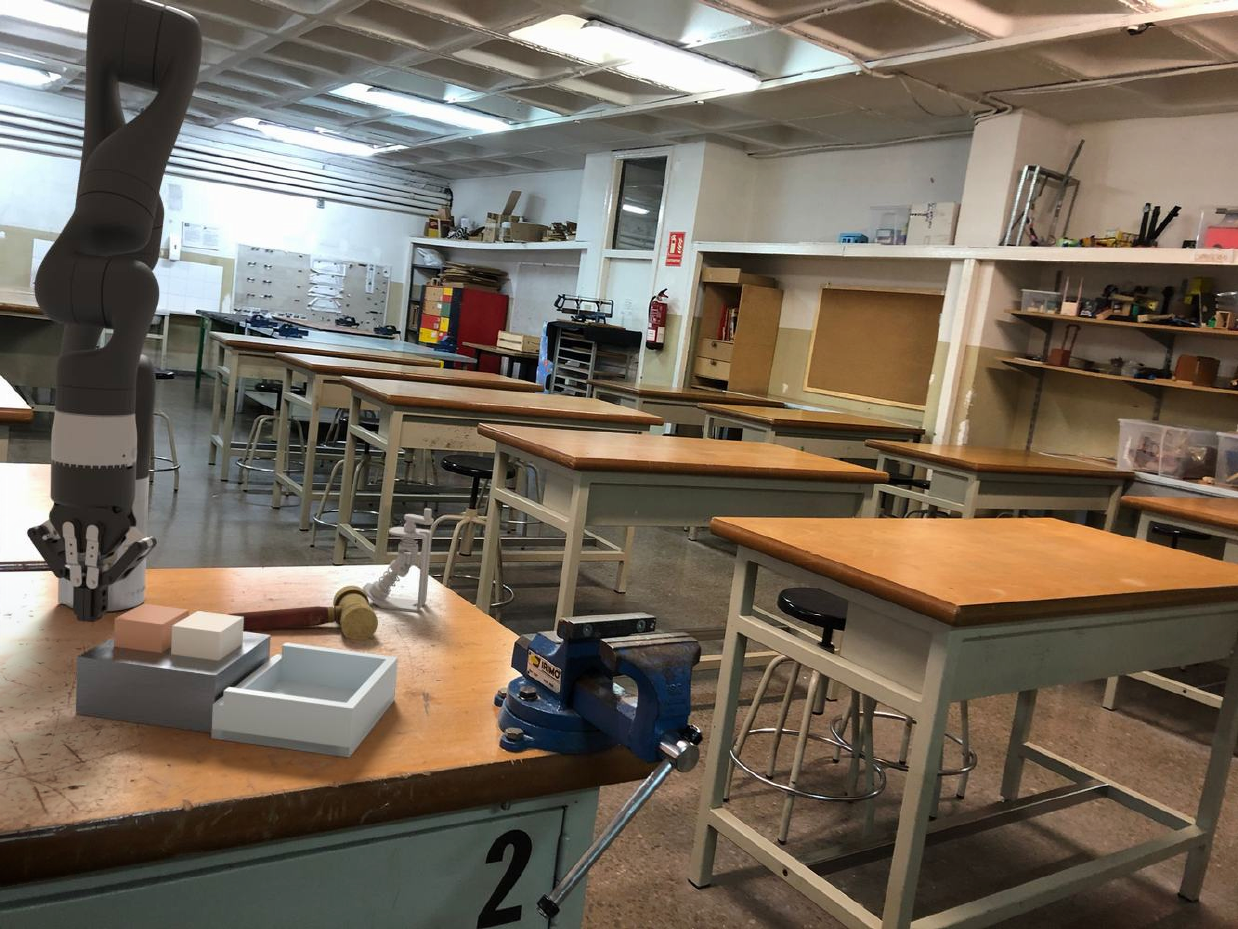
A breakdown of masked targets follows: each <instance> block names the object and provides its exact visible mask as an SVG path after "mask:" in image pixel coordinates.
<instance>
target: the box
mask: <svg viewBox="0 0 1238 929" xmlns="http://www.w3.org/2000/svg"><path fill="white" fill-rule="evenodd" d="M398 661H399V657H398V656H391V655H383V654H375V653H368V652H360V651H355V650H354V651H353V650H346V649H341V648H339V649H338V648H330V647H325V646H323V647H322V646H316V645H310V644H309V645H308V644H301V643H293V642H285V643H283V644H282V645H281V654H277V653H276V654H275V655H273V656H272V657H270V658H269V660H268V661H267V662H266V663H265V664H263V665H262V666H261V667H260V668H258V669H257V670H256V671H254V672H253V673H252V674H251V675H249V676H248V677H247V678H246V679H244V680H243V681H242V682H240V683H239V684H238V685H237V686H235V687H234V688H233V687H228V688H227V689H225V690H224V695H223V697H221V698H220V699H219V700H218V701H216V702H215V703H214V704H213V713H212V733H210V736H211V737H210V738H211V739H213V740H219V741H220V740H223V741H228V742H229V741H230V742H235V743H241V744H243V743H244V744H250V745H258V746H266V747H269V748H279V749H285V750H294V751H301V752H307V753H314V754H320V755H321V754H322V755H328V756H337V757H344V758H350V757H351V756H352V755H353V754H354V752H355V751H356V750H357V748H358V747H359V746H360V744H362V742H363V741H364V739H365V738H366V737H367V735H368V734H369V733H370V732H371V730H372V729H373V728H374V727H375V726H376V724H377V723H378V722H379V720H380V719H381V718H382V717H383V716H384V714H385V713H386V712H387V710H388V709H389V708H390V706H391V705H392V704H393V703H394V701H395V698H396V688H397V686H396V685H397V674H398V672H397V671H398Z"/></svg>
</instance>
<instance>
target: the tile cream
mask: <svg viewBox="0 0 1238 929" xmlns="http://www.w3.org/2000/svg"><path fill="white" fill-rule="evenodd" d="M243 624H244V617H240V616H233V615H228V614H224V613H217V612H215V613H214V612H209V611H201V610H200V611H199V610H197V611H196V612H194V613H192V614H189V616H188V617H187V618H185V619H183V620H181V621H180V622H178V623H176V624H174V625H173V626H172V643H171V654H174V655H181V656H189V657H196V658H203V659H211V660H218V661H219V660H220V659H222V658H223V657H225V656H226V655H228V654H229V653H230V652H232V651H233V650H235V649H236V648H237V647H239V646H240V645H242V643H243Z"/></svg>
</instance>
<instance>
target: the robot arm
mask: <svg viewBox="0 0 1238 929" xmlns="http://www.w3.org/2000/svg"><path fill="white" fill-rule="evenodd" d="M86 30H87V31H86V49H85V50H86V51H85V89H84V90H85V93H84V97H85V98H84V99H85V100H84V123H83V124H84V125H83V127H84V128H83V140H82V151H81V156H80V157H81V158H80V169H79V175H78V181H77V182H78V183H77V192H76V197H75V204H74V205H75V207H74V211H73V212H72V215H71V216H70V217H69V219H68V220H67V223H66V224H65V226H64V227H63V229H62V231H61V232H60V234H59V235H58V236H57V238H56V240H55V241H54V242H53V244H52V245H51V246H50V248H49V249H48V251H47V252H46V253H45V255H44V257H43V259H42V260H41V262H40V264H39V266H38V269H37V272H36V274H35V278H34V290H33V291H34V298H35V301H36V303H37V305H38V308H39V309H40V311H41V312H42V314H43V315H44V316H45V317H46V318H48V319H49V320H50V321H53V322H55V323H57V324H62V325H64V328H63V330H64V331H63V333H62V334H63V335H62V341H61V348H60V352H59V357H58V359H57V361H56V365H55V366H56V367H55V396H54V397H55V398H54V399H55V401H54V402H55V406H54V407H55V409H54V418H53V424H52V428H51V442H50V443H51V445H50V446H51V452H50V453H51V455H50V493H49V494H50V499H51V501H52V502H53V505H52V507H51V509H50V510H49V514H48V518H49V519H47V520H45V521H44V522H43V523H41V524H40V525H36V526H33V527H29V528H28V529H27V531H26V535H27V537H28V538H29V540H30V541H31V543H32V544H33V545H34V548H36V551H38V553H39V554H40V556H41V557H42V558H43V559H42V560H43V561H44V562H45V563H46V565H47V566H48V568H49V569H50V571H51V572H52V574H54V576H55V577H56V578H57V579H58V580H57V586H58V587H57V603H58V604H64V605H66V606H67V607H69V608H71V609H72V611H73V614H74V616H76V620H77V621H78V622H85V623H95V622H96V621H98V620H101V619H102V617H103V616H104V615H106V614H107V612H115V611H122V610H127V609H131V608H136V607H138V606H140V605H142V604H144V601H145V595H146V594H145V593H146V571H147V557H148V555H149V554H150V553H151V552H152V550H153V549H154V548H156V546H157V544H158V541H157V538H156V537H154V536H152V535H151V536H148V521H149V520H148V514H149V513H148V512H149V487H150V486H149V484H150V483H149V482H150V461H151V450H152V433H153V422H154V421H153V420H154V413H155V412H154V411H155V402H156V394H157V393H156V391H157V390H156V389H157V382H156V381H157V380H156V378H157V377H156V370H155V367H154V364H153V362H152V360H151V359H150V358H149V356H148V355H145V354H143V353H142V352H143V348H144V345H145V343H146V339H147V335H148V334H149V330H150V328H151V325H152V323H153V320H154V317H155V315H156V313H157V309H158V305H159V300H160V286H159V282H158V280H157V278H156V275H155V273H154V272H153V271H154V270H155V268H156V267H157V266H156V265H157V264H158V262H159V258H160V251H161V246H162V239H163V238H162V237H163V231H164V230H163V228H164V221H165V220H164V219H165V207H164V202H163V200H162V196H161V194H160V192H161V187H162V182H163V180H164V174H165V172H166V168H167V165H168V162H169V160H170V157H171V155H172V153H173V150H174V147H175V145H176V142H177V139H178V137H179V134H180V131H181V129H182V126H183V123H184V121H185V118H186V115H187V111H188V109H189V105H190V103H191V100H192V97H193V93H194V90H195V87H196V84H197V81H198V77H199V73H200V67H201V61H202V51H203V37H202V29H201V26H200V23H199V21H198V19H197V18H196V17H195V16H193V15H191V14H190V13H188V12H185V11H184V10H180V9H178V8H175V7H172V6H170V5H169V6H168V5H165V4H162V3H160V2H156V1H153V0H91V4H90V9H89V14H88V19H87V27H86ZM120 83H122V84H126V85H131V86H134V87H137V88H141V89H144V90H147V91H151V92H156V95H155V97H154V98H153V100H151V102H150V103H149V105H148V106H146V108H145V109H143V110H142V111H141V112H140V113H139V114H138V115H136V116H135V117H134V118H132V119H131V120H129V121H128V122H126V119H125V114H124V110H123V107H122V101H121V94H120ZM104 329H109V330H111V329H112V330H113V332H112V335H111V338H110V339H109V341H108V342H107V343H106V344H105V345H104V346H102V347H100V348H99V347H98V348H97V345H98V343H99V340H100V337H101V335H102V333H103V331H104Z"/></svg>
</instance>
